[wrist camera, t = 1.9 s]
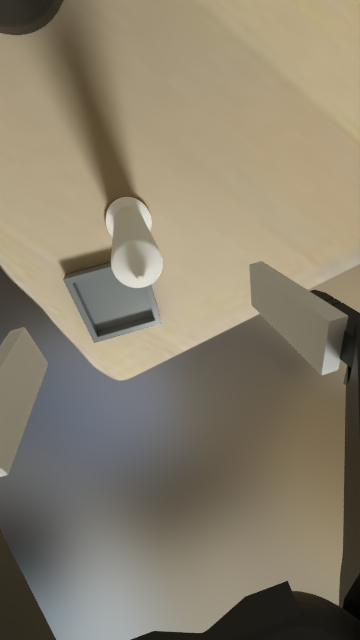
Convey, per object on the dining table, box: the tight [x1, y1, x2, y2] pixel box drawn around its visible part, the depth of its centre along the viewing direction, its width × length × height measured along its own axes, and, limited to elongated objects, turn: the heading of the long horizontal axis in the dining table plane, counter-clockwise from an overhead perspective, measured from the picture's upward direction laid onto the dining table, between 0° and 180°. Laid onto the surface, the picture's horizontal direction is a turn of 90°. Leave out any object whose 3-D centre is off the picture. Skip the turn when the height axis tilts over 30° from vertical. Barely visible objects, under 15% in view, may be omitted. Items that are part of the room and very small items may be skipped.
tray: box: [63, 262, 162, 343], centre depth 45 cm, size 13×13×2 cm
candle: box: [106, 197, 163, 288], centre depth 30 cm, size 7×7×25 cm
